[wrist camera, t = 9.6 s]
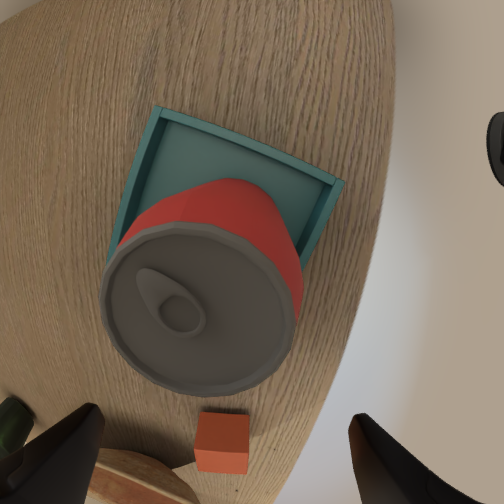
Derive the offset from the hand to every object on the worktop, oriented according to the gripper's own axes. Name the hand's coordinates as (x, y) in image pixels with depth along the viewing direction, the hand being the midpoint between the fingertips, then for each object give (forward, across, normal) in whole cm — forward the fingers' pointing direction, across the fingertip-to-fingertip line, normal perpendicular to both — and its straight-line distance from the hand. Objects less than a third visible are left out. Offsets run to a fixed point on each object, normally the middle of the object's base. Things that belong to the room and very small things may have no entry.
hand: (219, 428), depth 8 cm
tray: (+13, +1, -4) cm, 14 cm away
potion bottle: (+13, +38, +26) cm, 48 cm away
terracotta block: (+13, +2, +18) cm, 22 cm away
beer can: (+13, 0, -4) cm, 13 cm away
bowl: (+13, +15, +31) cm, 37 cm away
